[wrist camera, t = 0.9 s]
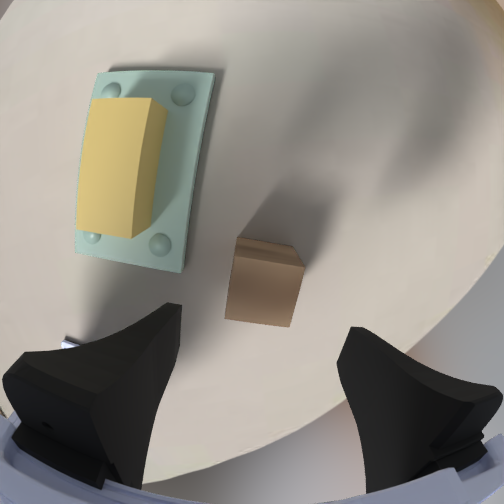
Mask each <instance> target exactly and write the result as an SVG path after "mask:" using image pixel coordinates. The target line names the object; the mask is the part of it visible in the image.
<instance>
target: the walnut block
mask: <svg viewBox="0 0 504 504" xmlns="http://www.w3.org/2000/svg"><path fill="white" fill-rule="evenodd" d="M304 271H305V266H304V264H303V263H302V261H301V260H300V258H299V256H298V255H297V253H296V251H295V250H294V248H293V246H287V245H281V244H275V243H269V242H264V241H258V240H252V239H246V238H240V237H237V241H236V247H235V252H234V258H233V264H232V270H231V276H230V282H229V289H228V296H227V304H226V312H225V319H230V320H236V321H243V322H250V323H257V324H265V325H273V326H281V327H290V323H291V320H292V316H293V312H294V309H295V305H296V302H297V298H298V294H299V290H300V287H301V283H302V279H303V275H304Z"/></svg>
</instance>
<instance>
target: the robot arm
mask: <svg viewBox="0 0 504 504" xmlns="http://www.w3.org/2000/svg"><path fill="white" fill-rule="evenodd" d="M181 312H182V305H178V304H173V303H168V302H167V303H166V304H164V305H163V306H161V307H160V308H158V309H157V310H155V311H154V312H152V313H151V314H149V315H148V316H146V317H145V318H143V319H141V320H140V321H138V322H136V323H134V324H133V325H131V326H129V327H127V328H125V329H123V330H121V331H119V332H117V333H115V334H113V335H110V336H108V337H105V338H103V339H100V340H97V341H94V342H90V343H87V344H83V345H78V344H75V343H72V342H69V341H66V340H63V341H62V342H61V345H62V349H59V350H51V351H35V352H24V353H23V354H22V355H21V356H20V358H19V359H18V360H17V361H16V362H15V363H14V364H13V365H12V366H11V367H10V368H9V369H8V371H7V372H6V373H5V374H4V375H3V378H2V382H3V388H4V391H5V393H6V396H7V398H8V399H9V401H10V403H11V405H12V407H13V409H14V412H13V413H12V414H11V415H10V417H9V418H8V419H6V418H5V417H4V416H2V415H1V414H0V499H1V500H0V504H210V503H202V502H195V501H189V500H183V499H177V498H172V497H167V496H163V495H158V494H154V493H150V492H146V491H142V490H141V488H142V481H143V474H144V468H145V462H146V457H147V451H148V447H149V442H150V437H151V433H152V428H153V424H154V420H155V416H156V412H157V409H158V406H159V403H160V401H161V398H162V396H163V393H164V391H165V388H166V386H167V383H168V381H169V378H170V376H171V373H172V371H173V368H174V366H175V362H176V358H177V354H178V350H179V346H180V328H181ZM337 368H338V373H339V377H340V381H341V384H342V387H343V389H344V392H345V395H346V397H347V400H348V402H349V405H350V408H351V410H352V413H353V415H354V418H355V421H356V424H357V427H358V432H359V436H360V440H361V446H362V452H363V458H364V465H365V476H366V494H364V495H359V496H355V497H351V498H348V499H343V500H338V501H331V502H324V503H317V504H480V503H481V502H483V501H484V500H486V499H487V498H488V497H489V496H491V495H492V494H493V493H495V492H496V491H497V490H498V489H499V488H501V487H502V486H503V485H504V436H503V435H502V434H498V435H497V436H495V437H493V438H492V439H490V440H488V441H487V442H486V443H485V444H484V445H483V444H482V442H481V439H483V438H484V434H483V433H482V430H483V428H484V427H485V426H486V425H487V424H488V422H489V421H490V420H491V418H492V417H493V416H494V415H495V413H496V412H497V410H498V409H499V407H500V405H501V403H502V400H503V395H502V393H501V392H500V391H499V390H498V389H497V388H496V387H494V386H489V385H483V384H477V383H471V382H467V381H464V380H460V379H457V378H453V377H451V376H448V375H445V374H442V373H440V372H438V371H435V370H433V369H431V368H429V367H427V366H425V365H423V364H421V363H419V362H417V361H415V360H414V359H412V358H411V357H409V356H407V355H406V354H404V353H402V352H401V351H399V350H398V349H396V348H395V347H393V346H392V345H390V344H389V343H387V342H386V341H384V340H383V339H381V338H380V337H378V336H377V335H375V334H374V333H372V332H371V331H369V330H367V329H365V328H363V327H351V328H350V331H349V333H348V336H347V338H346V341H345V343H344V346H343V348H342V351H341V353H340V356H339V358H338V360H337Z"/></svg>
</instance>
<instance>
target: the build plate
mask: <svg viewBox="0 0 504 504" xmlns="http://www.w3.org/2000/svg"><path fill="white" fill-rule="evenodd" d="M214 81H215V75H214V73H206V72H193V71H172V70H138V71H117V72H104V73H98V75H97V78H96V82H95V85H94V89H93V93H92V97H91V101H90V105H89V110H88V115H89V111H90V106H91V102H92V99H100V98H152V99H154V100H155V101H156V102H158V103H159V104H160V105H162V106H163V107H164V108H166V109H167V110H168V114H167V119H166V124H165V129H164V134H163V139H162V145H161V151H160V157H159V163H158V170H157V176H156V184H155V191H154V199H153V208H152V218H151V227H149V228H148V229H146V230H145V231H143V232H142V233H140V234H138V235H137V236H135V237H134V238H132V239H128V238H122V237H116V236H111V235H105V234H99V233H94V232H88V231H82V230H77V229H76V215H77V196H78V183H79V173H80V164H81V156H82V149H83V142H84V136H85V131H86V125H87V120H88V115H87V119H86V125H85V130H84V136H83V142H82V148H81V155H80V163H79V172H78V182H77V194H76V213H75V253H79V254H84V255H89V256H93V257H98V258H103V259H108V260H113V261H117V262H122V263H127V264H132V265H138V266H143V267H148V268H153V269H158V270H164V271H169V272H175V273H180V274H181V272H182V271H183V269H184V261H185V252H186V243H187V235H188V227H189V219H190V212H191V205H192V198H193V191H194V185H195V178H196V172H197V166H198V160H199V155H200V149H201V144H202V138H203V133H204V128H205V123H206V118H207V113H208V108H209V104H210V99H211V95H212V90H213V86H214Z"/></svg>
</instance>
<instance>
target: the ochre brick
mask: <svg viewBox="0 0 504 504" xmlns="http://www.w3.org/2000/svg"><path fill="white" fill-rule="evenodd" d="M167 114H168V110H167V109H166V108H164V107H163V106H162V105H160V104H159V103H158V102H156V101H155V100H154V99H152V98H100V99H92V102H91V106H90V111H89V115H88V120H87V125H86V131H85V136H84V142H83V149H82V156H81V164H80V173H79V183H78V196H77V215H76V229H77V230H82V231H88V232H94V233H99V234H105V235H111V236H116V237H122V238H128V239H132V238H134V237H135V236H137V235H138V234H140V233H142V232H143V231H145V230H146V229H148V228H149V227H151V218H152V208H153V199H154V191H155V184H156V176H157V170H158V163H159V157H160V151H161V145H162V139H163V134H164V129H165V124H166V119H167Z"/></svg>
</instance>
